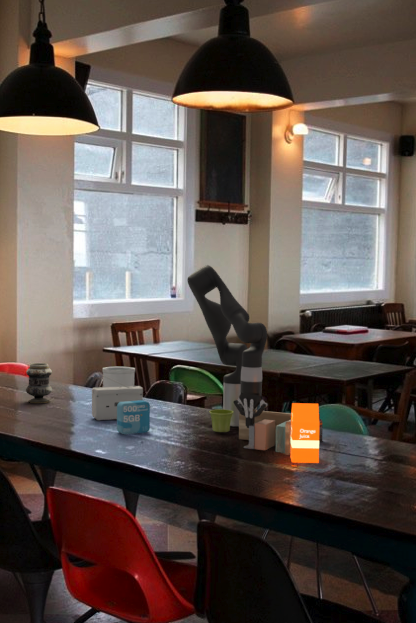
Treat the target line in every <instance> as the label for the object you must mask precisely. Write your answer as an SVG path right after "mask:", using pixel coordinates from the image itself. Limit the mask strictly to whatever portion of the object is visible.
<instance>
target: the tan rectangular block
mask: <svg viewBox="0 0 416 623" xmlns="http://www.w3.org/2000/svg"><path fill="white" fill-rule="evenodd" d="M272 447H276V443H275V420H266V419H265V420H262V421H260V422H258V423H255V449H254V450H259V451H266V450H267V451H268V449H270V448H272Z"/></svg>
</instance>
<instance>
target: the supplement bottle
mask: <svg viewBox="0 0 416 623" xmlns="http://www.w3.org/2000/svg"><path fill="white" fill-rule="evenodd" d="M322 442H323V420H322V419H321V413H319V444H321V443H322Z"/></svg>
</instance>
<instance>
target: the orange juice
mask: <svg viewBox="0 0 416 623" xmlns="http://www.w3.org/2000/svg"><path fill="white" fill-rule="evenodd" d="M319 412H320V408H319V403H310V402H309V403H308V402H307V403H300V402H292V403H291V453H290V456H289V457H290V460H291V461H290V462H291V463H295V464H297V463H299V464H300V463H301V464H304V463H305V464H319V463H320V443H319V414H320V413H319ZM291 467H296V465H293V464H291Z"/></svg>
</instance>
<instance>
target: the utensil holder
mask: <svg viewBox="0 0 416 623" xmlns="http://www.w3.org/2000/svg"><path fill="white" fill-rule="evenodd" d="M135 373H136V367H129V366H107V367H102V375H104V376H106V377H108V378H110V379H113V380H115V381H117V382H119V383H121V384H123V385H125V386H135ZM104 376H102V382H103V383H102V387H123V385H121V384H119V383H117V382H114V381H112V380H110V379H108V378H106V377H104Z"/></svg>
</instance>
